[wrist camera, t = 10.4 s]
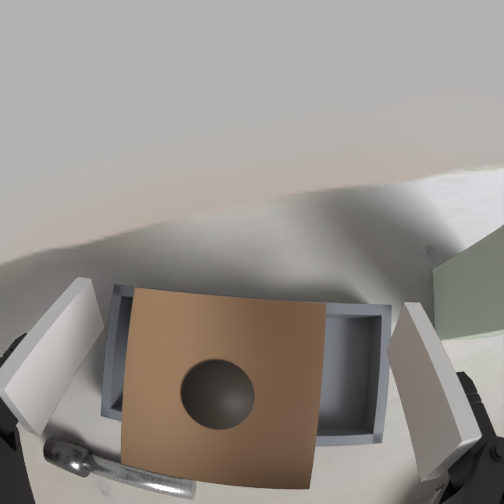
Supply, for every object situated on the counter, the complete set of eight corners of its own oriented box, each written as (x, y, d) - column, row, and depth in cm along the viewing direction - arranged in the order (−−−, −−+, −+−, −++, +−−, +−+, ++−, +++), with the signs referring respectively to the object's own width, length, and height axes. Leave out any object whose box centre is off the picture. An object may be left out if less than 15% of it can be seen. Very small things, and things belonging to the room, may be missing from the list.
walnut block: (199, 405, 17) (120, 463, 6) (206, 324, 18) (134, 287, 8) (283, 413, 17) (309, 489, 6) (290, 331, 18) (326, 302, 8)
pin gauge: (60, 459, 16) (44, 465, 14) (59, 434, 17) (42, 439, 15) (195, 499, 15) (188, 513, 13) (196, 472, 16) (189, 485, 14)
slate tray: (119, 409, 17) (100, 415, 15) (131, 292, 20) (114, 284, 17) (367, 432, 16) (381, 442, 14) (376, 311, 19) (391, 304, 16)
